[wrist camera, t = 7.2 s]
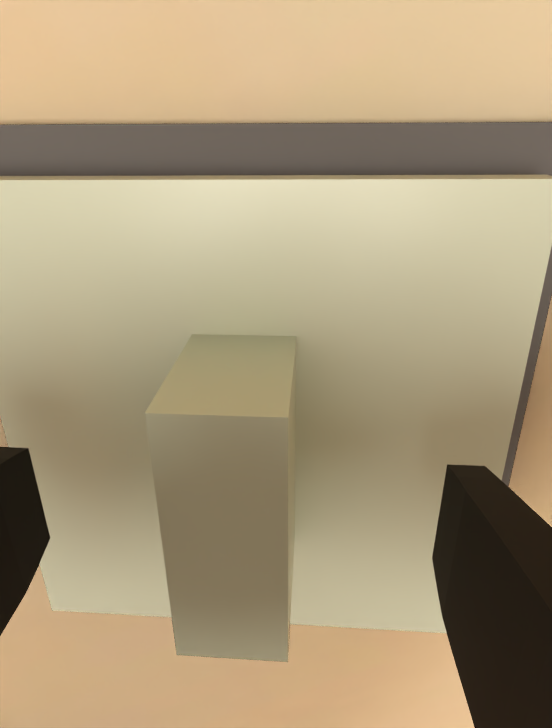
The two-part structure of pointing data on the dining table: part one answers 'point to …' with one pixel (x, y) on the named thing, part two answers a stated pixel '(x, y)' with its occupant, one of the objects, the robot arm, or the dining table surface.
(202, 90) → the dining table surface
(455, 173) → the mat
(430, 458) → the lid
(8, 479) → the robot arm
